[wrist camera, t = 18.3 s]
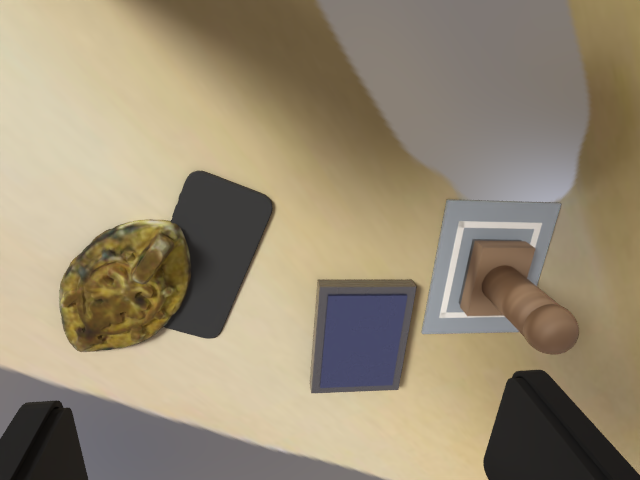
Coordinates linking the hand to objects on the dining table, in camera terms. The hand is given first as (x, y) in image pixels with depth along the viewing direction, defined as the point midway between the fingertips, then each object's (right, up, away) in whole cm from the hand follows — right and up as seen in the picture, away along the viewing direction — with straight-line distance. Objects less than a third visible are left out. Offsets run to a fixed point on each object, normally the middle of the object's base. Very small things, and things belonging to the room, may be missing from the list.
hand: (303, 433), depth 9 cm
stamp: (+17, +1, +32) cm, 36 cm away
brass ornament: (-16, 0, +28) cm, 33 cm away
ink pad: (+4, -5, +33) cm, 34 cm away
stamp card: (+17, +1, +32) cm, 36 cm away
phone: (-10, +3, +28) cm, 30 cm away
